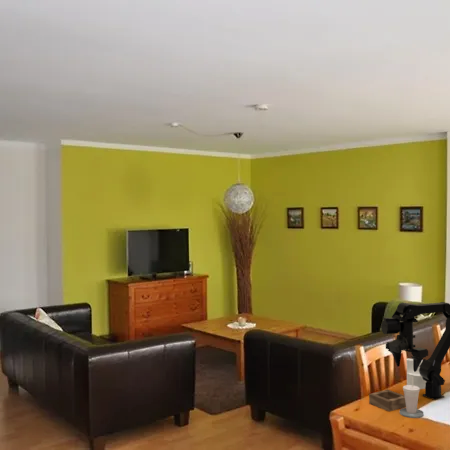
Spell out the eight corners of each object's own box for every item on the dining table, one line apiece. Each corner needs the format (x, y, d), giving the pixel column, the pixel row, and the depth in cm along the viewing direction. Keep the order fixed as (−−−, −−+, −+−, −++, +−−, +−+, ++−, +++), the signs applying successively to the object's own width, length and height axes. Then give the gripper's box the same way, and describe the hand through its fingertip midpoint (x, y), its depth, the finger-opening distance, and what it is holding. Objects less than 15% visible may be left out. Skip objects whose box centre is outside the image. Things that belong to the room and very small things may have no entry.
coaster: (410, 408, 220) (410, 406, 220) (428, 415, 212) (428, 413, 212) (394, 412, 216) (394, 410, 216) (412, 419, 208) (412, 417, 208)
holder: (388, 398, 232) (387, 389, 232) (408, 406, 222) (408, 396, 222) (369, 403, 226) (369, 394, 226) (389, 411, 217) (389, 401, 217)
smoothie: (418, 415, 210) (417, 380, 209) (401, 412, 213) (400, 377, 213) (421, 410, 215) (421, 375, 215) (405, 407, 218) (404, 373, 218)
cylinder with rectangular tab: (405, 387, 247) (405, 361, 247) (408, 382, 255) (408, 356, 255) (426, 390, 243) (425, 363, 242) (428, 384, 251) (428, 358, 250)
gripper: (376, 331, 235) (376, 366, 235) (410, 339, 219) (410, 377, 219) (394, 328, 240) (394, 362, 241) (428, 335, 224) (429, 373, 224)
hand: (406, 368), depth 231 cm, fingers open, 9 cm apart
